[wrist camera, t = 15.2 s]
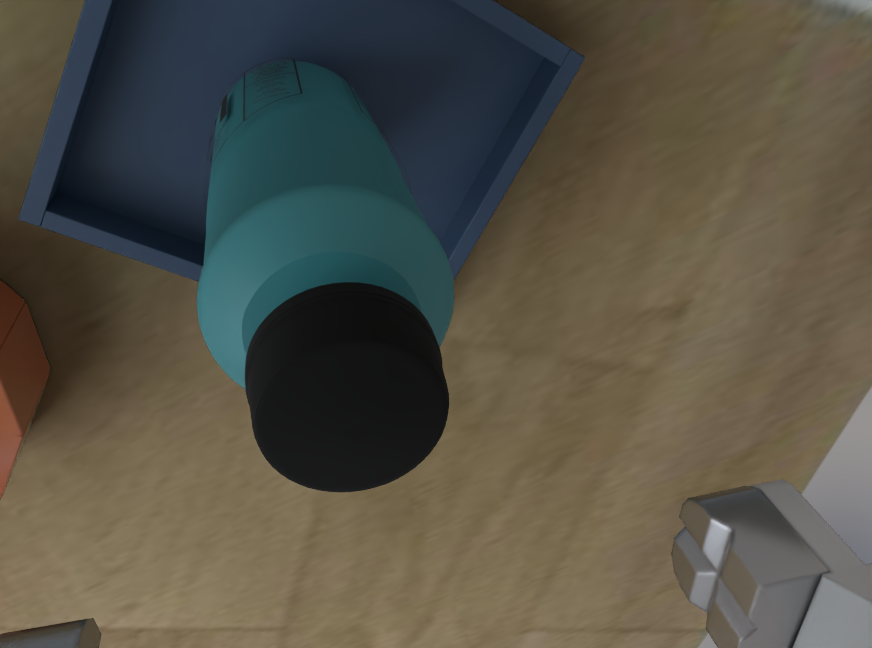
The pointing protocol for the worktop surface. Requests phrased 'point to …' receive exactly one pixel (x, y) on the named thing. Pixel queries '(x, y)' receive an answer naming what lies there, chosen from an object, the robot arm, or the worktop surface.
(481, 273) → the worktop surface
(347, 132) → the beverage bottle
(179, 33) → the tray
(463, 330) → the worktop surface
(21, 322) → the bowl
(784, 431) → the worktop surface
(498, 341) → the worktop surface
